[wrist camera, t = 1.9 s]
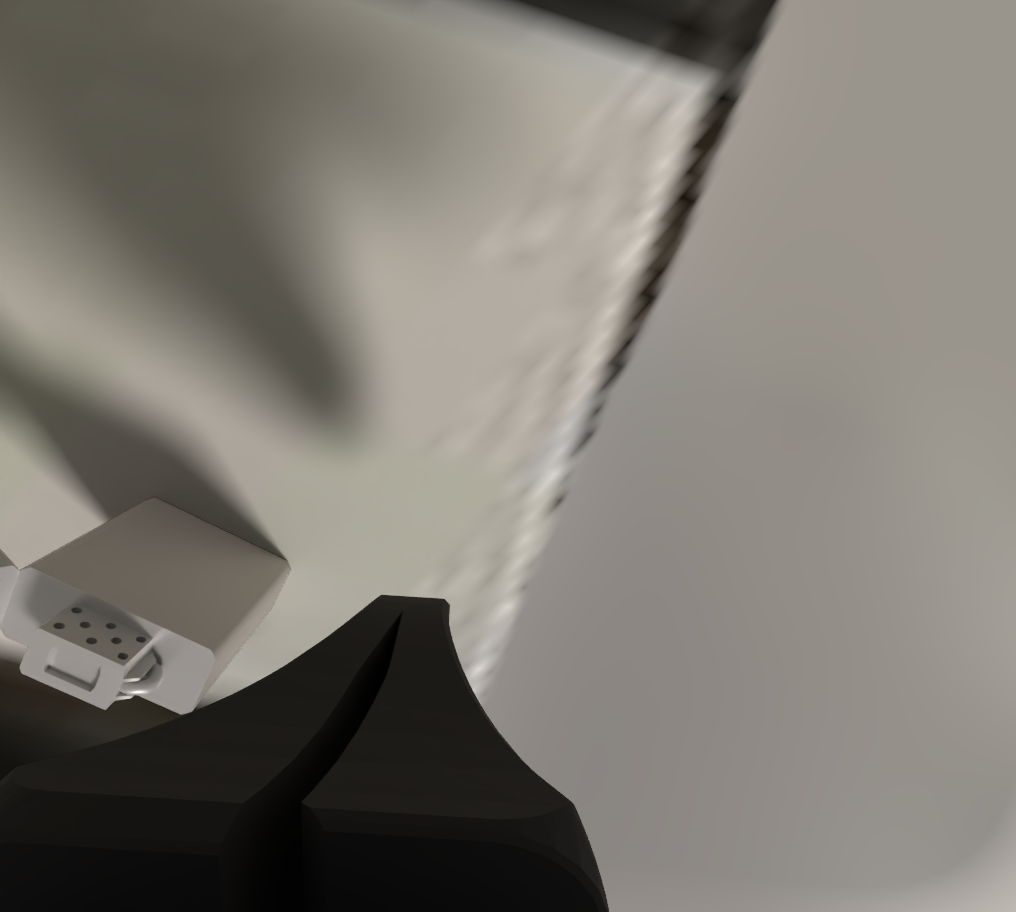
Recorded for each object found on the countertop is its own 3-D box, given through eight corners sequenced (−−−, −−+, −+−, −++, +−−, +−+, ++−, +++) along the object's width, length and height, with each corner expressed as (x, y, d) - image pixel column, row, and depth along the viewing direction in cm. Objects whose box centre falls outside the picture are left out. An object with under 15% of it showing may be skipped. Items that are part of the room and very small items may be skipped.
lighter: (293, 564, 17) (98, 799, 9) (268, 614, 17) (61, 881, 9) (39, 441, 16) (-416, 582, 8) (20, 498, 16) (-431, 683, 9)
